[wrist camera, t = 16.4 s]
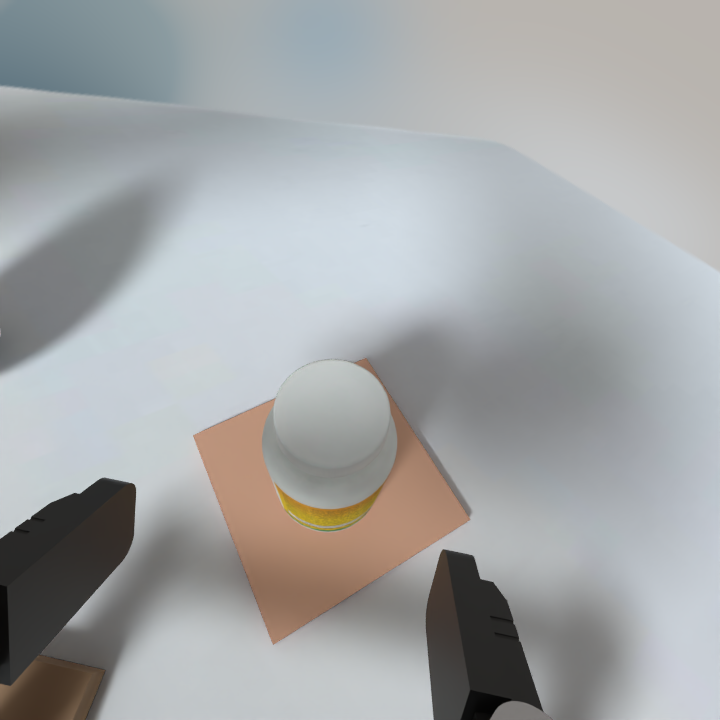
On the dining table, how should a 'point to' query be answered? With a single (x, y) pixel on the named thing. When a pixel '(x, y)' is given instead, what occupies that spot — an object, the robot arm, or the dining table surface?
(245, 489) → the tile
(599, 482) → the dining table surface
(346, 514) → the supplement bottle
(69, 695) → the hurdle stand
